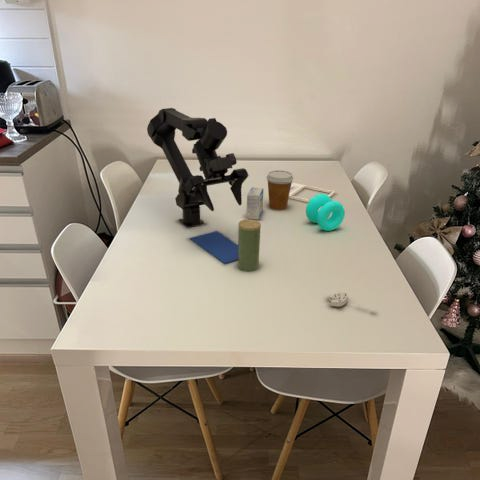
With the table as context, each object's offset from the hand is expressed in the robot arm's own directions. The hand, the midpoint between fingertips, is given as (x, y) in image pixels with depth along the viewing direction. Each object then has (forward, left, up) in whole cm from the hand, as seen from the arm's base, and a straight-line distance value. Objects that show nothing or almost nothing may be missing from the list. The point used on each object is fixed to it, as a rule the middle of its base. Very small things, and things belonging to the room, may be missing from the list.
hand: (226, 207), depth 142 cm
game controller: (+44, +8, -13) cm, 47 cm away
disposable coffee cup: (-19, +35, -13) cm, 42 cm away
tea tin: (+13, -1, -13) cm, 18 cm away
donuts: (+3, +37, -13) cm, 39 cm away
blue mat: (-2, -1, -13) cm, 13 cm away
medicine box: (-17, +23, -13) cm, 31 cm away
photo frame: (-23, +52, -13) cm, 58 cm away
